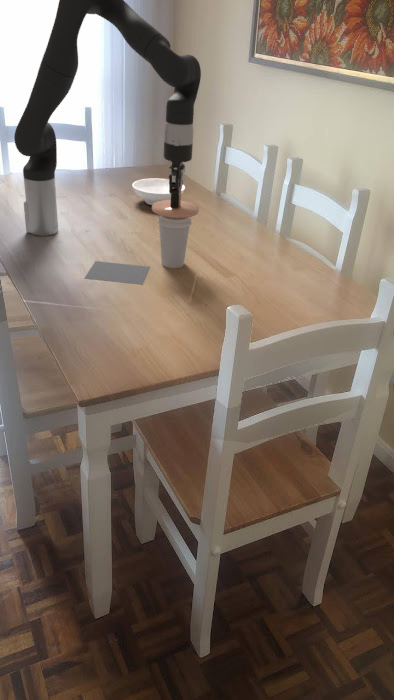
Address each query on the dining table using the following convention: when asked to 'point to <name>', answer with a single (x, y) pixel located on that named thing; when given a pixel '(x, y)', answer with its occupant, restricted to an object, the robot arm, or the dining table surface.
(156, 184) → the bowl
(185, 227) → the coffee cup
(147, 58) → the robot arm
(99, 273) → the mat
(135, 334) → the dining table surface
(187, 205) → the lid
